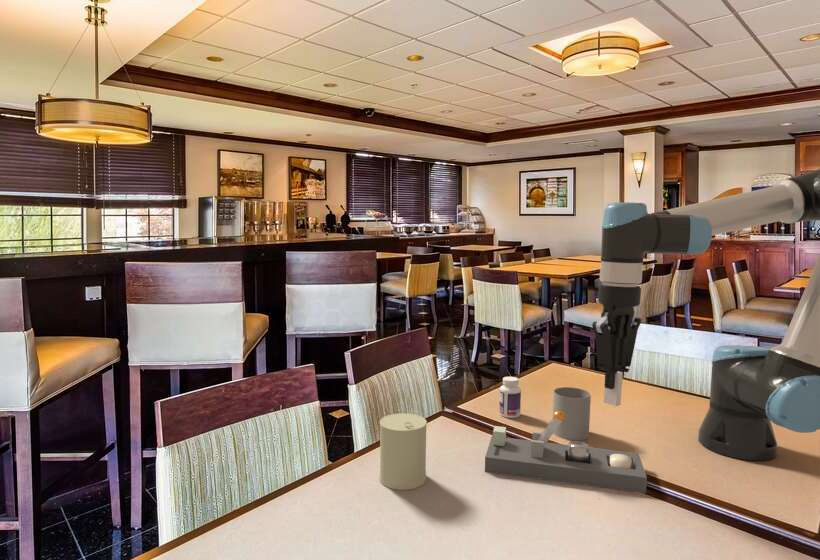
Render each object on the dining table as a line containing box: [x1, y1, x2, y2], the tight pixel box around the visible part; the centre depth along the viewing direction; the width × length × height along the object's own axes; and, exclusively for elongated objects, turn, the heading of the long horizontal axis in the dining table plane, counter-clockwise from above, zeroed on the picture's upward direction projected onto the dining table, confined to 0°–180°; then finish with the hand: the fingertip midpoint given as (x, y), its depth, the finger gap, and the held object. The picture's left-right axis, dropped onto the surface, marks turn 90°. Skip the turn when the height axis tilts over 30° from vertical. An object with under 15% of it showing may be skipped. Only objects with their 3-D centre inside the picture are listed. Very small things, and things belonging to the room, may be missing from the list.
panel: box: [484, 431, 648, 494], centre depth 107 cm, size 30×11×6 cm, turn 74°
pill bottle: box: [498, 376, 522, 419], centre depth 137 cm, size 5×5×10 cm
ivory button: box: [610, 454, 632, 469], centre depth 104 cm, size 4×4×4 cm
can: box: [378, 412, 428, 491], centre depth 103 cm, size 9×9×12 cm
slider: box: [492, 425, 507, 446], centre depth 113 cm, size 2×3×3 cm
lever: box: [537, 411, 565, 446], centre depth 108 cm, size 2×3×9 cm
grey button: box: [567, 440, 590, 463], centre depth 106 cm, size 4×4×4 cm
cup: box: [552, 386, 592, 441], centre depth 126 cm, size 8×8×10 cm
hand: (612, 403), depth 104 cm, fingers closed
